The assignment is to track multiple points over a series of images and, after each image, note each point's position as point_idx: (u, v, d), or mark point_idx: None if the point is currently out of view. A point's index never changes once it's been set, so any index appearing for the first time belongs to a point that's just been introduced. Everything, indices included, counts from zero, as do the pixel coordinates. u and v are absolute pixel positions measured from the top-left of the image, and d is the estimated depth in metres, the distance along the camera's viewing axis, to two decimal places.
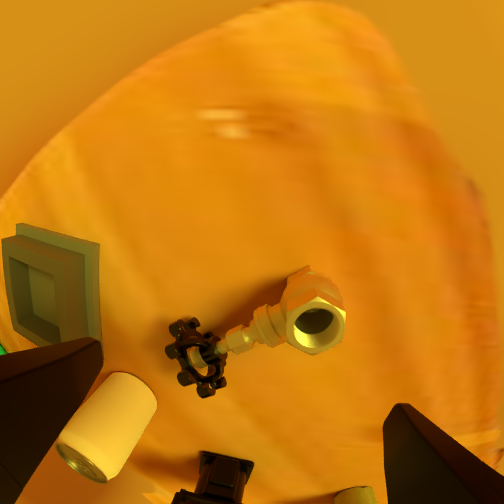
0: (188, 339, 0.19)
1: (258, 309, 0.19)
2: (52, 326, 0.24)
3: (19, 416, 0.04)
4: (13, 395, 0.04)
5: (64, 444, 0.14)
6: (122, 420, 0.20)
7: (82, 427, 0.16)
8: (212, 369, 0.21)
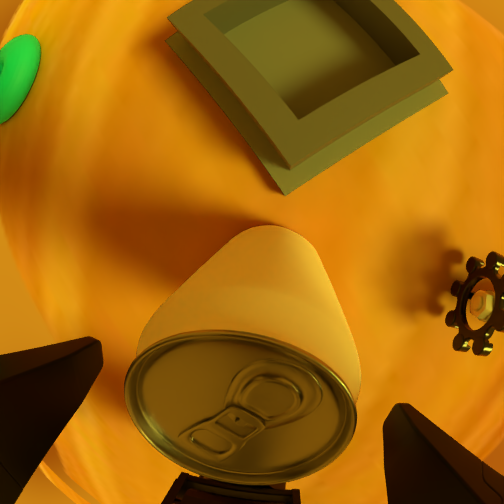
0: None
1: None
2: None
3: (19, 416, 0.04)
4: (13, 395, 0.04)
5: (314, 356, 0.05)
6: None
7: (340, 312, 0.07)
8: (468, 325, 0.13)
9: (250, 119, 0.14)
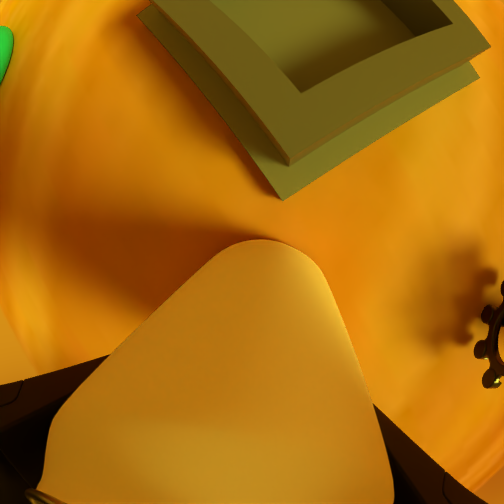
0: None
1: None
2: None
3: None
4: (49, 422, 0.04)
5: None
6: None
7: (371, 422, 0.03)
8: (500, 358, 0.09)
9: (236, 100, 0.10)
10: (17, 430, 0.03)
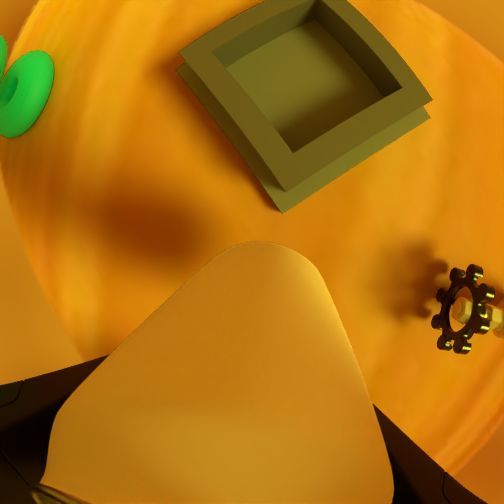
0: None
1: None
2: None
3: None
4: (49, 423, 0.04)
5: None
6: None
7: (369, 414, 0.04)
8: (450, 327, 0.16)
9: (252, 147, 0.17)
10: (17, 430, 0.03)
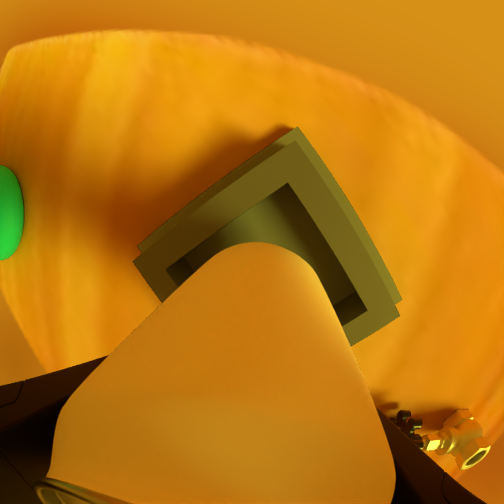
0: (420, 438, 0.16)
1: (454, 431, 0.16)
2: None
3: None
4: (50, 423, 0.04)
5: None
6: None
7: (368, 402, 0.04)
8: None
9: None
10: (18, 431, 0.03)
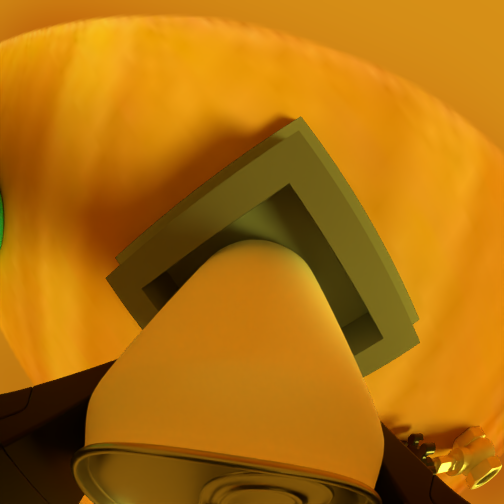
0: (432, 463, 0.13)
1: (466, 452, 0.14)
2: None
3: (68, 451, 0.03)
4: (60, 430, 0.04)
5: (319, 469, 0.02)
6: None
7: (351, 366, 0.05)
8: None
9: None
10: (29, 439, 0.03)
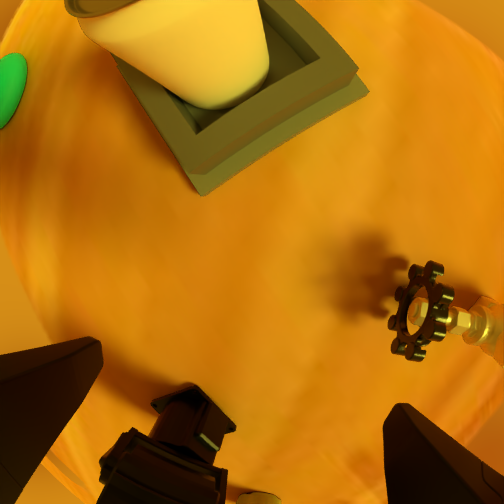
0: None
1: (485, 307, 0.14)
2: (178, 96, 0.16)
3: (19, 416, 0.04)
4: (13, 395, 0.04)
5: None
6: (259, 17, 0.09)
7: None
8: (406, 330, 0.16)
9: None
10: None
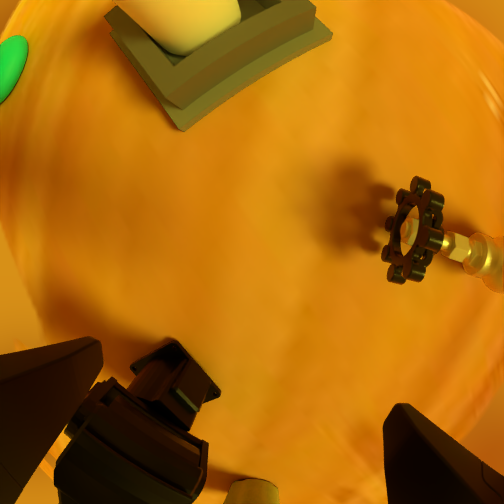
0: None
1: None
2: (161, 49, 0.15)
3: (19, 416, 0.04)
4: (13, 395, 0.04)
5: None
6: None
7: None
8: (402, 256, 0.15)
9: None
10: None
